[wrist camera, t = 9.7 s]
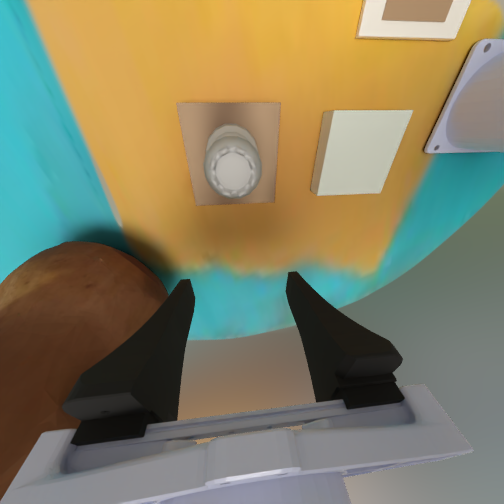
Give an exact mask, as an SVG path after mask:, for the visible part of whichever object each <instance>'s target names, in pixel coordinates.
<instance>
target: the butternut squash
mask: <svg viewBox="0 0 504 504" xmlns="http://www.w3.org/2000/svg"><path fill="white" fill-rule="evenodd" d="M167 298H168V293H167V291H166V289H165V287H164V285H163V283H162V281H161V280H160V279H159V278H158V277H157V276H156V275H155V274H154V273H153V272H152V271H151V270H150V269H148V268H147V267H146V266H145V265H144V264H143V263H141V262H140V261H138V260H137V259H136V258H134V257H133V256H131V255H129V254H126V253H124V252H122V251H120V250H117V249H115V248H113V247H110V246H107V245H104V244H100V243H94V242H81V241H71V242H65V243H62V244H60V245H58V246H55V247H52V248H49V249H46V250H44V251H42V252H40V253H38V254H37V255H35V256H33V257H32V258H30V259H28V260H27V261H26V262H24V263H23V264H22V265H20V266H19V267H18V268H17V269H15V270H14V271H13V272H12V273H10V274H9V275H8V276H7V277H6V278H5V280H4V281H3V282H2V283H1V284H0V501H1V499H2V498H3V496H4V494H5V493H6V491H7V490H8V488H9V486H10V485H11V483H12V481H13V480H14V478H15V476H16V475H17V473H18V472H19V470H20V468H21V467H22V465H23V463H24V462H25V460H26V459H27V457H28V455H29V454H30V452H31V450H32V449H33V447H34V446H35V444H36V442H37V441H38V439H39V437H40V436H41V434H42V433H44V432H46V431H54V430H62V429H78V427H79V425H80V423H81V420H79V419H77V418H75V417H73V416H71V415H69V414H67V413H65V412H64V411H63V409H62V405H63V403H64V402H65V400H66V398H67V397H68V395H69V393H70V391H71V390H72V388H73V386H74V385H75V383H76V381H77V380H78V378H79V377H80V375H81V374H82V373H83V372H85V371H86V370H88V369H89V368H91V367H92V366H93V365H95V364H96V363H98V362H99V361H101V360H102V359H103V358H105V357H106V356H107V355H109V354H110V353H111V352H113V351H114V350H115V349H116V348H118V347H119V346H120V345H121V344H123V343H124V342H125V341H126V340H127V339H128V338H130V337H131V336H132V335H133V334H134V333H135V332H136V331H137V330H138V329H140V328H141V327H142V326H143V325H144V324H145V323H146V322H147V321H148V320H149V319H150V317H151V316H152V315H153V314H154V313H155V312H156V311H157V310H158V308H159V307H160V306H161V305H162V304H163V303H164V301H165V300H166V299H167Z"/></svg>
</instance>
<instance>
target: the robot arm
mask: <svg viewBox="0 0 504 504" xmlns="http://www.w3.org/2000/svg"><path fill="white" fill-rule="evenodd" d="M484 48H485V50H484ZM483 50H484V51H483ZM435 146H436V148H435ZM434 148H435V149H434ZM424 152H425V153H465V152H504V39H483V40H480V41H478V42H477V43H475V45H474V46H473V47H472V49H471V51H470V53H469V55H468V57H467V60H466V62H465V64H464V66H463V68H462V70H461V72H460V74H459V77H458V79H457V81H456V83H455V85H454V87H453V89H452V91H451V93H450V96H449V98H448V100H447V102H446V104H445V106H444V108H443V110H442V113H441V115H440V117H439V119H438V121H437V123H436V125H435V127H434V129H433V132H432V134H431V136H430V138H429V140H428V142H427V144H426V146H425V149H424ZM286 295H287V299H288V303H289V306H290V309H291V311H292V314H293V317H294V319H295V322H296V325H297V327H298V330H299V333H300V336H301V339H302V343H303V347H304V351H305V355H306V359H307V362H308V367H309V371H310V375H311V380H312V384H313V389H314V394H315V399H316V403H310V404H302V405H294V406H287V407H279V408H271V409H264V410H256V411H248V412H240V413H233V414H225V415H218V416H210V417H203V418H194V419H187V420H179V421H177V417H178V405H179V394H180V385H181V375H182V367H183V360H184V353H185V347H186V342H187V338H188V334H189V330H190V325H191V321H192V317H193V313H194V306H195V296H194V292H193V288H192V285H191V281H190V279H183V280H180V282H179V283H178V284H177V286H176V287H175V288H174V290H173V291H172V292H171V294H170V295H169V296H168V298H167V299H166V300H165V301H164V303H163V304H162V305H161V306H160V307H159V308H158V310H157V311H156V312H155V313H154V314H153V315H152V316H151V317H150V319H149V320H148V321H147V322H146V323H145V324H144V325H143V326H142V327H141V328H140V329H138V330H137V331H136V332H135V333H134V334H133V335H132V336H131V337H130V338H128V339H127V340H126V341H125V342H124V343H123V344H121V345H120V346H119V347H118V348H116V349H115V350H114V351H113V352H111V353H110V354H109V355H107V356H106V357H105V358H103V359H102V360H101V361H99V362H98V363H96V364H95V365H93V366H92V367H91V368H89V369H88V370H86V371H85V372H83V373H82V374H81V375H80V377H79V378H78V380H77V381H76V383H75V385H74V386H73V388H72V390H71V391H70V393H69V395H68V397H67V398H66V400H65V402H64V403H63V405H62V409H63V411H64V412H65V413H67V414H69V415H71V416H73V417H75V418H77V419H79V420H81V423H80V425H79V427H78V429H62V430H54V431H46V432H44V433H42V434H41V436H40V437H39V439H38V441H37V442H36V444H35V446H34V447H33V449H32V450H31V452H30V454H29V455H28V457H27V459H26V460H25V462H24V463H23V465H22V467H21V468H20V470H19V472H18V473H17V475H16V476H15V478H14V480H13V481H12V483H11V485H10V486H9V488H8V490H7V491H6V493H5V494H4V496H3V498H2V499H1V501H0V504H351V501H350V498H349V495H348V492H347V489H346V486H345V483H344V480H343V478H344V477H349V476H355V475H359V474H365V473H371V472H377V471H381V470H387V469H393V468H399V467H404V466H410V465H415V464H421V463H427V462H433V461H439V460H443V459H447V458H450V457H455V456H459V455H463V454H466V453H470V452H473V448H472V447H471V445H470V444H469V443H468V442H467V440H466V439H465V437H464V436H463V435H462V433H461V432H460V431H459V429H458V428H457V427H456V425H455V424H454V423H453V422H452V420H451V419H450V418H449V416H448V415H447V414H446V412H445V411H444V410H443V408H442V407H441V406H440V404H439V403H438V402H437V400H436V399H435V398H434V396H433V395H432V394H431V393H430V391H429V390H428V388H427V387H426V386H425V385H424V384H415V385H408V386H402V387H400V388H398V387H397V385H396V383H395V382H396V378H395V376H394V375H393V372H394V371H395V370H396V369H397V368H398V367H399V366H400V365H401V363H402V360H403V358H402V357H401V355H400V354H399V352H398V351H397V350H396V348H395V347H394V346H393V344H392V343H391V342H390V341H389V340H387V339H385V338H383V337H381V336H379V335H377V334H375V333H373V332H371V331H370V330H368V329H366V328H364V327H363V326H361V325H359V324H357V323H356V322H354V321H353V320H351V319H350V318H348V317H347V316H345V315H344V314H342V313H341V312H340V311H338V310H337V309H336V308H334V307H333V306H332V305H331V304H329V303H328V302H327V301H326V300H325V299H323V298H322V297H321V296H320V295H319V294H318V293H317V292H316V291H315V290H314V289H313V288H312V287H311V286H310V285H309V284H308V283H307V282H306V281H305V280H304V279H303V278H302V277H301V276H300V274H299V273H298V272H297V271H295V272H288V279H287V286H286ZM298 425H302V430H291V429H288V428H283V427H290V426H298ZM276 428H278V429H276ZM254 431H255V432H254ZM247 432H248V433H247ZM218 436H222V437H218ZM210 437H217V438H215V439H213V440H211V441H210V442H206V443H201V444H197V442H196V441H193V440H197V439H204V438H210ZM196 444H197V445H196Z"/></svg>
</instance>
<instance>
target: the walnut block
mask: <svg viewBox="0 0 504 504" xmlns="http://www.w3.org/2000/svg"><path fill="white" fill-rule="evenodd" d="M176 105H177V110H178V115H179V120H180V125H181V130H182V135H183V141H184V146H185V151H186V156H187V161H188V166H189V171H190V177H191V182H192V187H193V192H194V197H195V202H196V206H199V205H222V204H245V203H268V202H274V200H275V184H276V169H277V153H278V137H279V122H280V106H281V103H176ZM224 124H238V125H240V126H242V127H244V128H246V129H247V130H248V131H249V132H250V134H251V135H252V136H253V137H254V139H255V142H256V145H257V148H258V154H259V157H260V159H261V162H262V176H261V178H260V181H259V183H258V186H257V187H256V188H255V189H254V190H253V191H252V192H251V193H250V194H249V195H247V196H245V197H242V198H240V199H229V198H226V197H223V196H221V195H219V194H218V193H216V192H215V191H214V190H213V189H212V188H211V187H210V185H209V183H208V182H207V180H206V178H205V173H204V166H203V163H204V159H205V155H206V152H205V150H206V146H207V142H208V138H209V137H210V135H211V134H212V133H213V131H214V130H215V129H216V128H218V127H220V126H222V125H224Z"/></svg>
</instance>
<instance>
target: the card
mask: <svg viewBox="0 0 504 504" xmlns="http://www.w3.org/2000/svg"><path fill="white" fill-rule="evenodd" d="M470 2H471V0H363V5H362V10H361V14H360V19H359V24H358V28H357V33H356V38H365V39H403V40H441V41H450V40H453V39H455V37H456V35H457V33H458V30H459V28H460V26H461V23H462V21H463V19H464V16H465V14H466V12H467V9H468V7H469V5H470Z"/></svg>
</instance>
